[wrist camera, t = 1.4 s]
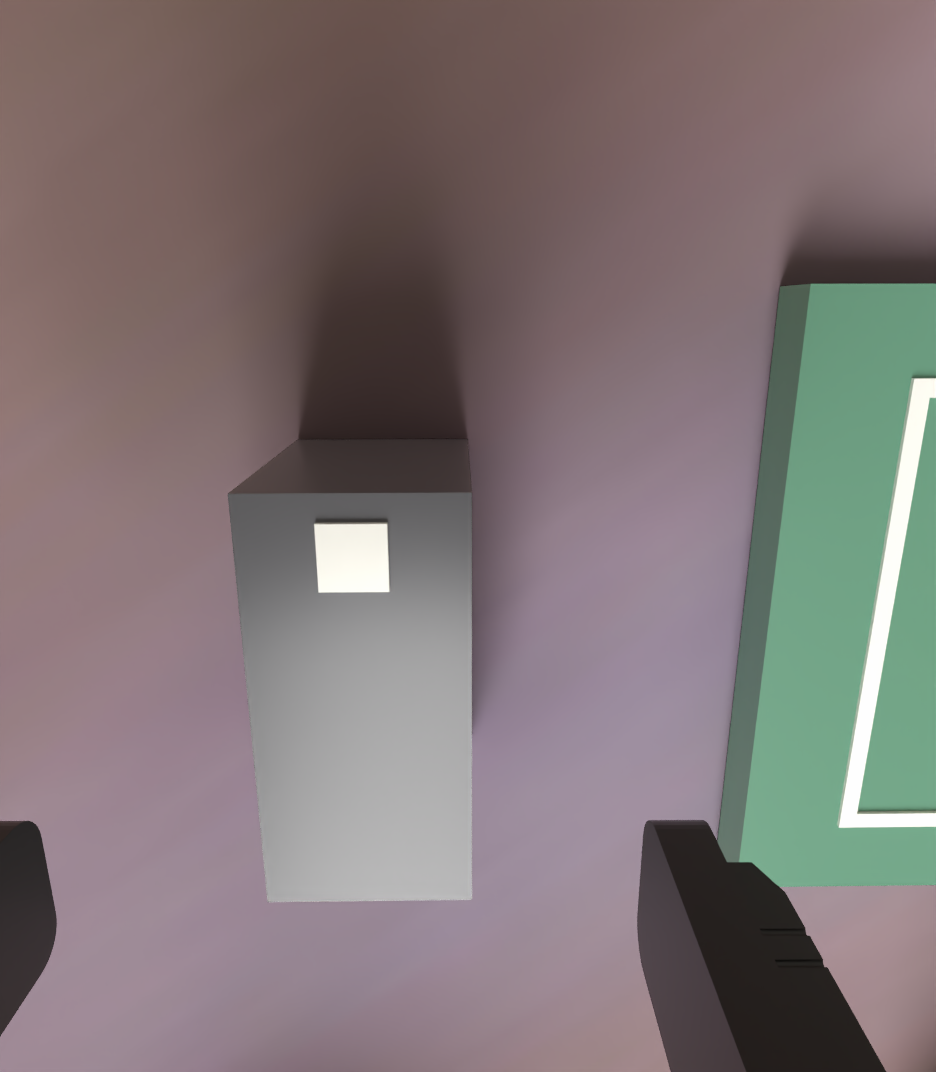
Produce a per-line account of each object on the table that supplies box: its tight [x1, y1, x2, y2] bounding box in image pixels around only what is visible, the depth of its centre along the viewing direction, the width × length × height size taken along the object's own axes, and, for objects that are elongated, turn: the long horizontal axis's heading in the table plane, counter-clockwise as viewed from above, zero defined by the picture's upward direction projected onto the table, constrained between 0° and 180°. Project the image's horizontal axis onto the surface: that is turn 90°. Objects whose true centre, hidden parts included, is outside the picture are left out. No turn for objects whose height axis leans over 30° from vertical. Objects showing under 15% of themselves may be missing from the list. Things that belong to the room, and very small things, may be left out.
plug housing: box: [228, 439, 472, 902], centre depth 16 cm, size 8×4×6 cm, turn 0°
